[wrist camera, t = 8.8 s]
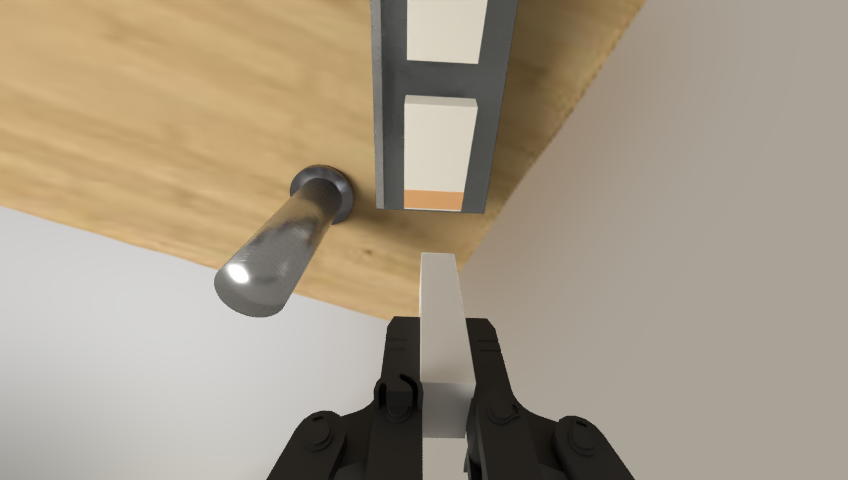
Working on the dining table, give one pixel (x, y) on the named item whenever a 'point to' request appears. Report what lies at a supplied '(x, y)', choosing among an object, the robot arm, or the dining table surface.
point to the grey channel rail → (437, 80)
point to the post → (285, 243)
